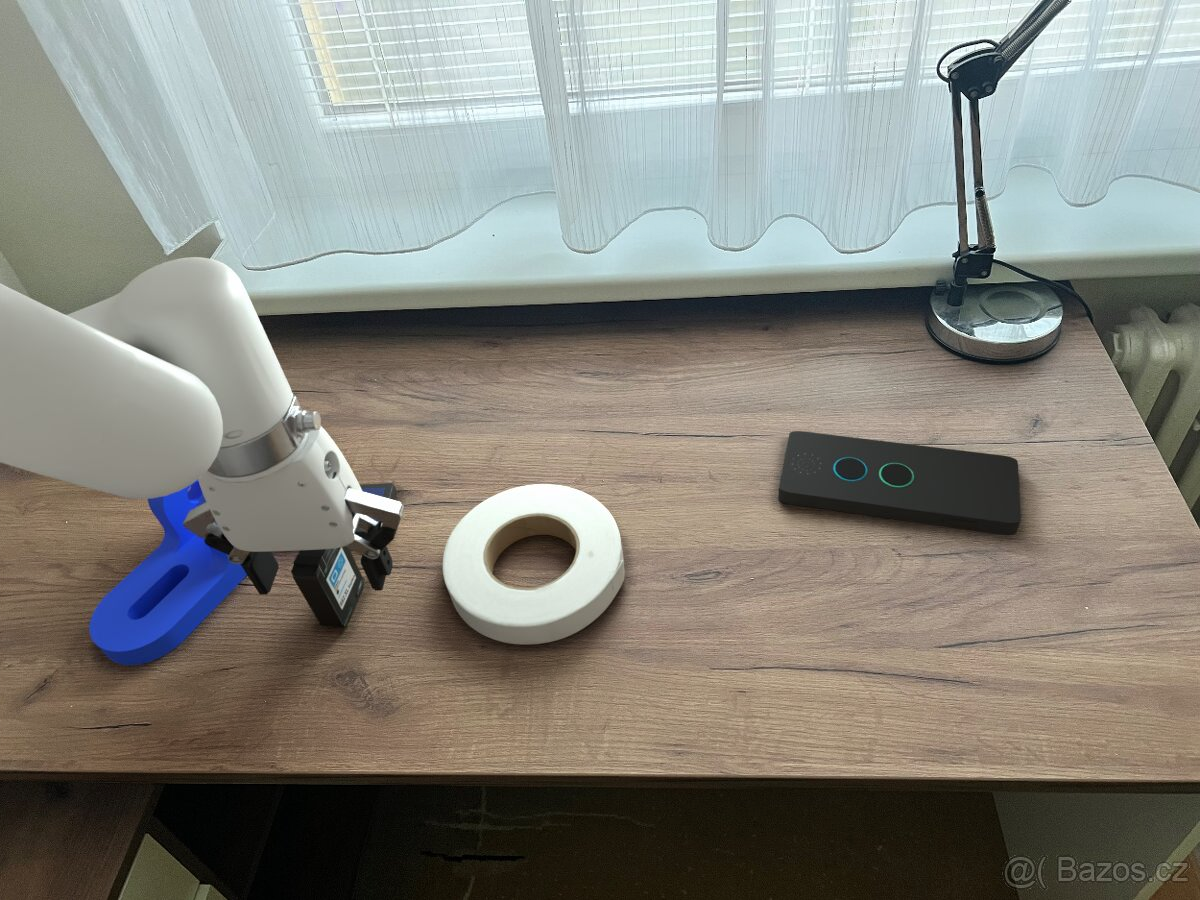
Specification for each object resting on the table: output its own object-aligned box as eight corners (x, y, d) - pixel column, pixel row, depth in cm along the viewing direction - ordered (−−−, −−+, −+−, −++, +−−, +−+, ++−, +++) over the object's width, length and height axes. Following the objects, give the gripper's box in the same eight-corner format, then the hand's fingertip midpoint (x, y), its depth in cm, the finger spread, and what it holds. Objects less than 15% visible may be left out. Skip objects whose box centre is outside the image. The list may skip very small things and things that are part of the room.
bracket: (232, 500, 86) (194, 434, 80) (294, 526, 83) (259, 459, 76) (81, 643, 75) (22, 579, 69) (145, 679, 72) (90, 616, 66)
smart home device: (790, 427, 83) (1018, 454, 78) (789, 440, 84) (1013, 468, 79) (777, 490, 77) (1022, 524, 72) (776, 503, 79) (1017, 538, 73)
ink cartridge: (346, 630, 73) (315, 572, 68) (321, 628, 74) (288, 570, 68) (367, 583, 77) (338, 524, 71) (342, 581, 77) (313, 522, 72)
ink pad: (290, 544, 81) (284, 533, 80) (307, 496, 85) (302, 485, 84) (384, 540, 80) (380, 530, 79) (397, 492, 84) (393, 481, 83)
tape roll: (438, 650, 71) (429, 631, 69) (459, 509, 82) (453, 488, 80) (627, 640, 70) (624, 620, 68) (624, 498, 81) (621, 477, 79)
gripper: (379, 388, 63) (434, 539, 75) (151, 400, 64) (241, 547, 76) (355, 462, 57) (419, 613, 69) (107, 474, 59) (211, 619, 71)
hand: (325, 578), depth 73 cm, fingers open, 9 cm apart
